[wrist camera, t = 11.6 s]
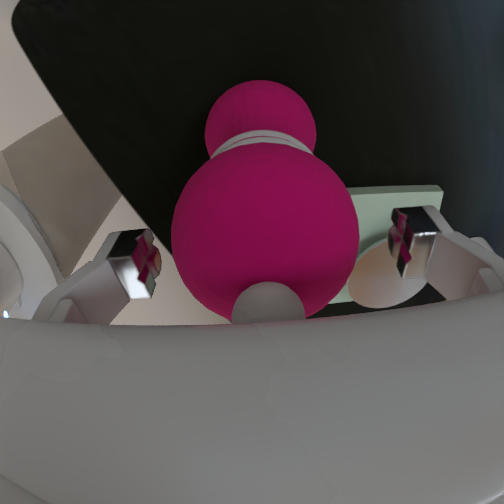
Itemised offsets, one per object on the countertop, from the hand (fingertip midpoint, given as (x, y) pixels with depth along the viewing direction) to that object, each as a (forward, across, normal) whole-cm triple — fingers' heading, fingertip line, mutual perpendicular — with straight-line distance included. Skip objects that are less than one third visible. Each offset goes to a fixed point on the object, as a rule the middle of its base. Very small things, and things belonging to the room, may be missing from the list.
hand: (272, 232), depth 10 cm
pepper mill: (+16, 0, 0) cm, 16 cm away
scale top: (+13, -9, +16) cm, 22 cm away
